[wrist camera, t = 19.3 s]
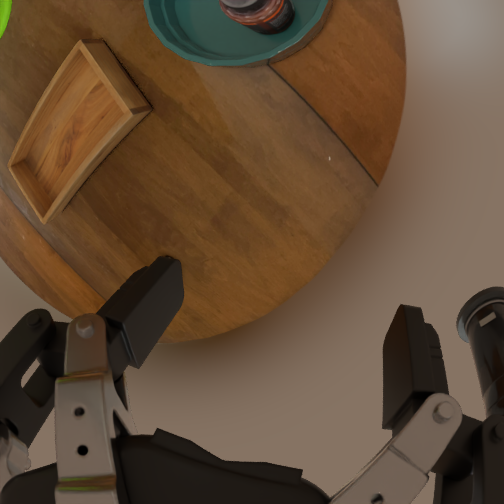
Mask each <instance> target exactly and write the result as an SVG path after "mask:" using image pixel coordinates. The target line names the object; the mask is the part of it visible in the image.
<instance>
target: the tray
mask: <svg viewBox="0 0 504 504" xmlns="http://www.w3.org/2000/svg"><path fill="white" fill-rule="evenodd" d="M151 111H152V107H151V106H150V105H149V103H148V102H147V100H146V99H145V98H144V96H143V95H142V94H141V92H140V91H139V89H138V88H137V87H136V85H135V84H134V82H133V81H132V80H131V78H130V77H129V76H128V74H127V73H126V71H125V70H124V69H123V67H122V66H121V65H120V63H119V62H118V61H117V59H116V58H115V56H114V55H113V54H112V52H111V51H110V50H109V48H108V47H107V45H106V44H105V43H104V41H103V40H99V39H80V40H79V41H78V43H77V44H76V45H75V47H74V48H73V49H72V51H71V52H70V54H69V55H68V56H67V58H66V59H65V61H64V62H63V63H62V65H61V66H60V68H59V69H58V71H57V72H56V74H55V76H54V77H53V79H52V80H51V82H50V84H49V85H48V87H47V88H46V90H45V92H44V93H43V95H42V97H41V98H40V100H39V102H38V104H37V105H36V107H35V109H34V111H33V113H32V115H31V117H30V118H29V120H28V122H27V124H26V126H25V128H24V130H23V132H22V134H21V136H20V138H19V140H18V142H17V144H16V147H15V149H14V151H13V153H12V156H11V158H10V160H9V163H8V168H9V170H10V172H11V174H12V175H13V177H14V179H15V181H16V182H17V184H18V186H19V187H20V189H21V191H22V192H23V194H24V196H25V197H26V199H27V200H28V202H29V204H30V205H31V207H32V208H33V210H34V211H35V213H36V214H37V216H38V217H39V219H40V220H41V222H42V223H43V225H45V224H46V223H48V222H49V221H51V220H52V219H54V218H55V217H56V216H58V215H59V214H60V213H61V212H62V211H63V209H64V208H65V207H66V205H67V204H68V202H69V201H70V200H71V199H72V197H73V196H74V195H75V193H76V192H77V191H78V190H79V188H80V187H81V186H82V185H83V183H84V182H85V181H86V180H87V179H88V177H89V176H90V175H91V174H92V173H93V171H94V170H95V169H96V168H97V167H98V166H99V165H100V163H101V162H102V161H103V160H104V159H105V158H106V157H107V155H108V154H109V153H110V152H111V151H112V150H113V149H114V148H115V147H116V146H117V145H118V144H119V143H120V141H121V140H122V139H123V138H124V137H125V136H126V135H127V134H128V133H129V132H130V131H131V130H132V129H133V128H134V127H135V126H136V125H137V124H138V123H139V122H140V121H141V120H142V119H143V118H144V117H145V116H146V115H147V114H148V113H150V112H151Z"/></svg>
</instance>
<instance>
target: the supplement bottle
mask: <svg viewBox="0 0 504 504" xmlns="http://www.w3.org/2000/svg"><path fill="white" fill-rule="evenodd" d="M219 4H220V7H221V9H222V11H223V12H224V13H225V14H226V15H227V16H228V17H229V18H230V19H232V20H234V21H235V22H238V23H240V24H242V25H243V26H245V27H247V28H249V29H251V30H253V31H255V32H258V33H261V34H266V35H271V34H277V33H280V32H282V31H284V30H285V29H287V28H288V27H289V26H290V25H291V23H292V22H293V20H294V17H295V9H294V5H293V3H292V1H291V0H219Z"/></svg>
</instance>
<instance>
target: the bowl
mask: <svg viewBox="0 0 504 504" xmlns="http://www.w3.org/2000/svg"><path fill="white" fill-rule="evenodd" d="M291 1H292V3H293V5H294V9H295V17H294V20H293V22H292V23H291V25H290V26H289V27H288V28H287V29H285V30H284V31H282V32H280V33H277V34H271V35H266V34H261V33H258V32H255V31H253V30H251V29H249V28H247V27H245V26H243V25H242V24H240V23H238V22H235V21H234V20H232V19H230V18H229V17H228V16H227V15H226V14H225V13H224V12H223V11H222V9H221V7H220V4H219V0H144V8H145V12H146V15H147V18H148V22H149V25H150V28H151V29H152V30H153V32H154V33H155V34H156V36H157V37H158V38H159V40H160V41H161V42H162V44H163V45H164V46H165V47H167V48H169V49H170V50H172V51H173V52H175V53H176V54H178V55H179V56H181V57H182V58H184V59H187V60H190V61H194V62H198V63H201V64H205V65H208V66H218V67H252V68H254V67H258V66H262V65H266V64H270V63H274V62H278V61H281V60H283V59H285V58H286V57H288V56H290V55H292V54H293V53H295V52H297V51H299V50H301V49H302V48H304V47H305V46H306V45H307V44H308V43H309V42H310V41H311V40H312V39H313V38H314V37H315V36H316V35H317V34H318V33H319V32H320V30H321V29H322V28H323V26H324V24H325V22H326V19H327V17H328V15H329V13H330V10H331V8H332V2H333V0H291Z"/></svg>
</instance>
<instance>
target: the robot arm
mask: <svg viewBox="0 0 504 504" xmlns="http://www.w3.org/2000/svg"><path fill="white" fill-rule="evenodd" d="M183 298H184V288H183V279H182V269H181V263H180V261H179V260H176V259H172V258H167V257H163V256H159V257H158V258H157V259H156V260H155V261H154V262H153V263H152V264H151V265H150V266H149V267H147V266H145V267H143V268H141V269H140V270H138V271H136V272H134V273H133V274H132V275H131V276H130V277H129V278H128V279H127V280H126V283H124V284H123V285H122V286H121V287H120V289H118V290H117V291H116V292H115V293H114V294H113V295H112V296H111V298H110V299H109V300H108V301H107V302H106V303H105V304H104V305H103V306H102V307H101V308H100V309H99V311H98V312H97V313H96V314H93V313H87V314H83V315H80V316H78V317H76V318H75V319H73V320H72V321H71V322H70V323H65V322H56V321H53V319H52V317H51V315H50V313H49V311H47V310H45V309H35V310H32V311H30V312H28V313H27V314H26V315H25V316H23V317H22V319H21V320H20V321H19V322H18V323H17V324H16V325H15V326H14V327H13V329H12V330H11V331H10V332H9V333H8V334H7V335H6V336H5V338H4V339H3V340H2V341H1V342H0V504H411V502H412V501H413V500H414V499H415V498H416V496H417V495H418V494H419V493H420V491H421V490H422V489H423V487H424V486H425V485H426V483H427V482H428V480H429V476H428V473H429V471H431V472H434V473H436V478H435V490H434V500H433V504H504V298H491V299H488V300H486V301H484V302H482V303H480V304H479V305H478V306H476V307H475V308H474V309H473V310H472V311H471V313H470V314H469V315H468V317H467V319H466V322H465V332H466V336H467V338H468V340H469V344H470V348H471V351H472V355H473V359H474V362H475V366H476V370H477V375H478V379H479V383H480V387H481V392H482V397H483V402H484V407H485V413H486V419H485V420H484V421H483V422H482V421H479V420H476V419H474V418H471V417H468V416H466V415H464V414H462V410H461V407H460V405H459V403H458V402H457V401H456V400H455V399H454V398H453V397H451V396H450V395H449V391H448V384H447V379H446V372H445V367H444V361H443V359H442V357H443V356H442V351H441V349H440V348H441V346H440V342H439V337H438V334H437V332H436V331H435V329H434V328H433V326H432V325H431V324H428V323H425V322H424V318H423V313H422V309H421V308H420V307H414V306H409V305H403V304H401V305H400V306H399V308H398V309H397V312H396V314H395V316H394V319H393V321H392V323H391V325H390V327H389V330H388V332H387V334H386V337H385V340H384V344H383V422H382V429H388V430H392V438H391V439H390V440H389V441H388V443H387V444H386V445H385V446H384V447H383V448H382V449H381V450H380V451H379V452H378V453H377V454H376V455H375V456H374V457H373V458H372V459H371V461H370V462H368V463H367V465H366V466H364V468H363V469H361V470H360V471H359V472H358V473H357V474H356V475H355V476H354V477H353V478H352V479H351V480H350V481H348V482H347V483H346V484H345V485H344V486H343V487H342V488H340V489H339V490H338V491H337V492H336V493H335V494H333V495H332V496H331V497H329V496H328V495H327V494H326V493H325V492H324V491H323V490H322V489H320V488H319V487H317V486H316V485H315V484H313V483H311V482H310V481H308V480H306V479H304V478H301V476H302V472H303V470H302V469H296V468H291V467H286V466H281V465H276V464H272V463H267V462H239V461H225V460H222V459H220V458H218V457H216V456H215V455H213V454H211V453H210V452H208V451H206V450H204V449H203V448H201V447H200V446H198V445H197V444H195V443H194V442H192V441H190V440H188V439H185V438H182V437H179V436H177V435H174V434H172V433H169V432H166V431H164V430H161V429H159V428H157V429H156V431H155V433H154V435H142V434H141V435H138V432H137V429H136V426H135V423H134V421H133V417H132V413H131V408H130V402H129V395H128V389H127V382H126V375H125V372H124V370H125V369H126V367H127V366H128V365H130V366H133V367H135V368H137V369H139V368H140V367H141V365H142V364H143V362H144V361H145V359H146V358H147V356H148V355H149V353H150V352H151V350H152V349H153V347H154V346H155V344H156V343H157V341H158V340H159V338H160V337H161V335H162V334H163V332H164V331H165V329H166V328H167V326H168V325H169V324H170V322H171V321H172V319H173V318H174V316H175V315H176V313H177V312H178V310H179V309H180V307H181V305H182V302H183ZM36 358H37V360H38V362H39V363H40V365H39V367H38V368H37V369H36V371H35V372H34V373H33V375H32V376H31V377H30V379H29V380H28V382H27V383H26V384H25V386H24V387H23V388H22V387H21V379H22V376H23V375H24V374H25V372H26V371H27V370H28V368H29V367H30V366H31V364H32V363H33V362H34V361H35V359H36ZM54 406H55V444H56V459H57V462H56V463H53V464H50V465H47V466H43V467H40V468H37V469H34V470H31V471H27V472H25V470H28V469H29V468H30V467H31V461H30V459H29V458H28V448H29V447H30V445H31V443H32V441H33V440H34V438H35V436H36V435H37V433H38V432H39V430H40V428H41V427H42V425H43V423H44V422H45V420H46V419H47V417H48V416H49V414H50V412H51V411H52V409H53V408H54Z"/></svg>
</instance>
